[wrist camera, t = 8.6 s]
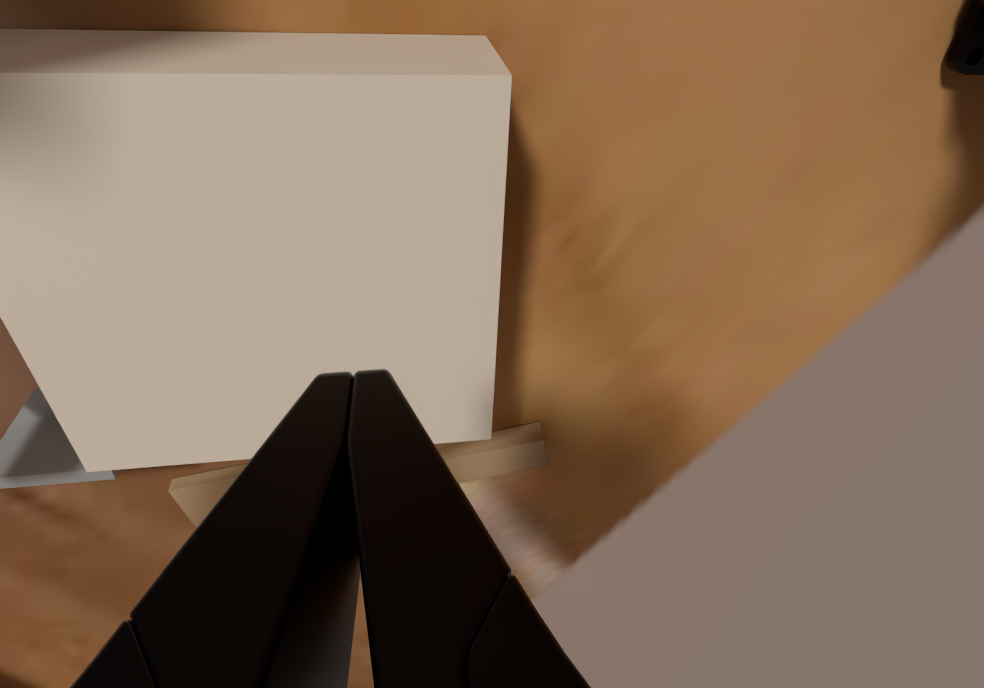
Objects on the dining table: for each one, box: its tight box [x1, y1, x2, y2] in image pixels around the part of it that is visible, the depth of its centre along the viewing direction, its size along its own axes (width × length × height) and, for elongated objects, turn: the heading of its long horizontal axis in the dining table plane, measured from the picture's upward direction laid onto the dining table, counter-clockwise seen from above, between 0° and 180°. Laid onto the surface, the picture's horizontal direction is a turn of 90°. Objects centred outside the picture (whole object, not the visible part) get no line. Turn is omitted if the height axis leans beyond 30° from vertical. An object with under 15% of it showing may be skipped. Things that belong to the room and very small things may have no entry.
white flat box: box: [0, 29, 512, 472], centre depth 17 cm, size 12×11×4 cm
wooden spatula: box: [168, 422, 547, 528], centre depth 25 cm, size 15×4×1 cm, turn 98°
